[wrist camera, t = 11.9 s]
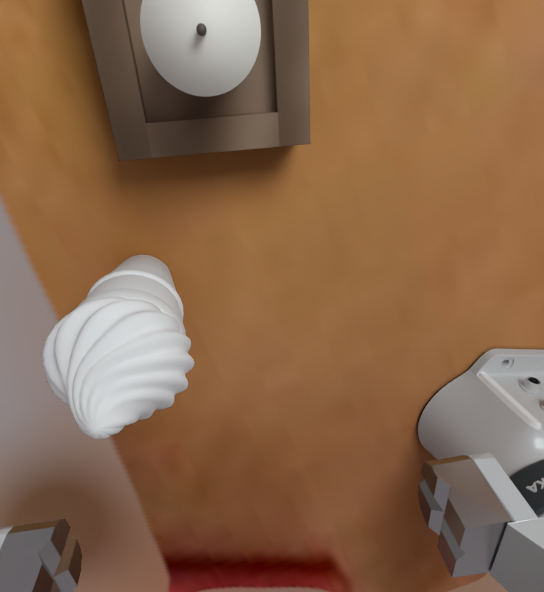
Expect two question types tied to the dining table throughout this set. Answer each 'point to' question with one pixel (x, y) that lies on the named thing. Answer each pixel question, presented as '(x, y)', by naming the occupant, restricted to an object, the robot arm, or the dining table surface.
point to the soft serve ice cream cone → (120, 349)
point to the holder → (196, 109)
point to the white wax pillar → (201, 42)
